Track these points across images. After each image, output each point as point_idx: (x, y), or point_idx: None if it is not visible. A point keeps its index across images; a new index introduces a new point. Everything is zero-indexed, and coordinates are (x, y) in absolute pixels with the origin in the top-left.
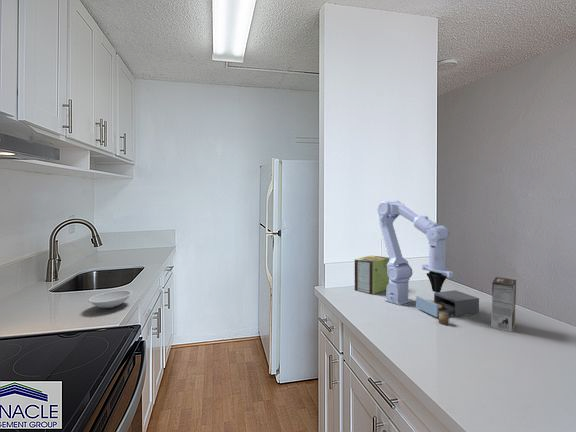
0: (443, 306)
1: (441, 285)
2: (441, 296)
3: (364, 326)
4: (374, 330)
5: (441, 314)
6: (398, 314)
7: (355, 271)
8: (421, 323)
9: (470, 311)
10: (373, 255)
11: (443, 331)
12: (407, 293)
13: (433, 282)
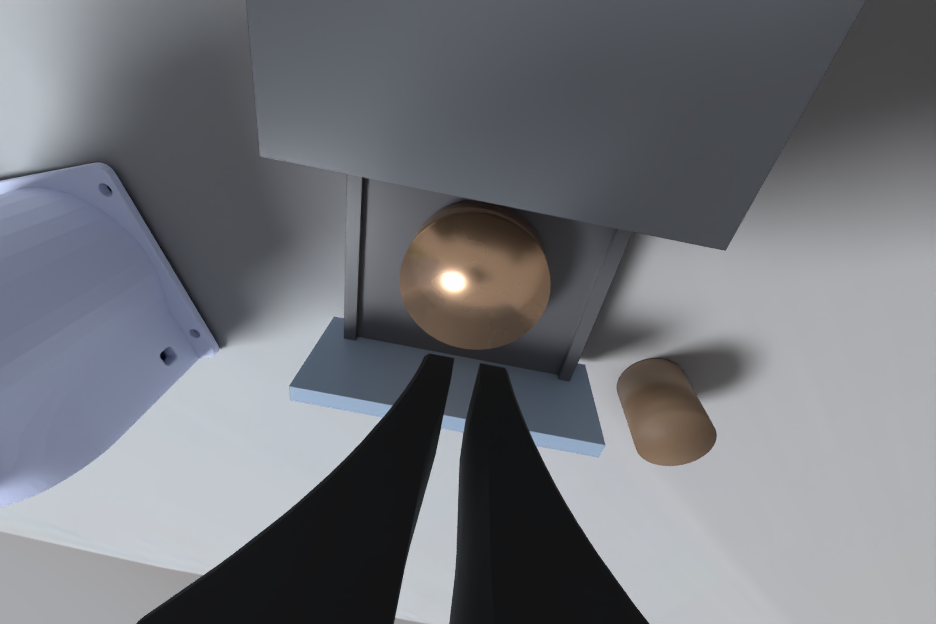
0: (547, 264)
1: (527, 459)
2: (430, 185)
3: (443, 615)
4: None
5: (671, 464)
6: None
7: None
8: (559, 472)
9: None
10: None
11: (712, 473)
12: (74, 283)
13: (406, 558)
